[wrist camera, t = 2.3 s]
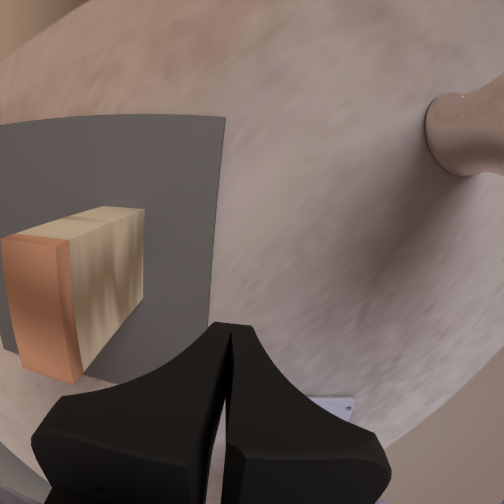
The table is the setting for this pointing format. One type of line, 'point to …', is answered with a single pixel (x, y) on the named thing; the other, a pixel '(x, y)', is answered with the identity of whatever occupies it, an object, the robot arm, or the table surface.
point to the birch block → (73, 286)
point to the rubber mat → (127, 196)
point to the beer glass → (468, 130)
